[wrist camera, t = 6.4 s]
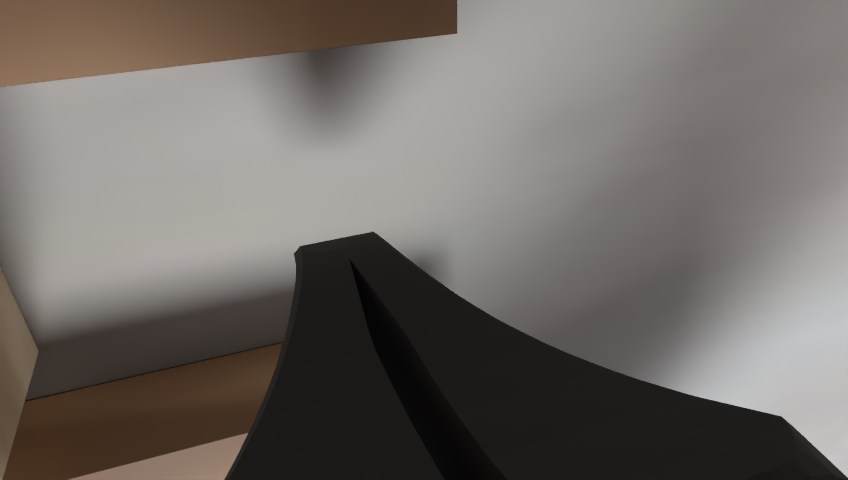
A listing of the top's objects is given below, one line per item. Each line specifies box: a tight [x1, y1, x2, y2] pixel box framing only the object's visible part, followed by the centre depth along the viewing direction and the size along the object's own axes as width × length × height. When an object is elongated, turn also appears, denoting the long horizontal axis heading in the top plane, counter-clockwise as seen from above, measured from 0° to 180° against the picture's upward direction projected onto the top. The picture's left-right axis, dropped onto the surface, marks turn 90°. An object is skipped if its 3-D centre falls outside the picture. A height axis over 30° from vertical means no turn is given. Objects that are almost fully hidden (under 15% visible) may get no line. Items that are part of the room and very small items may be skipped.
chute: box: [0, 0, 457, 480], centre depth 11 cm, size 10×14×3 cm
